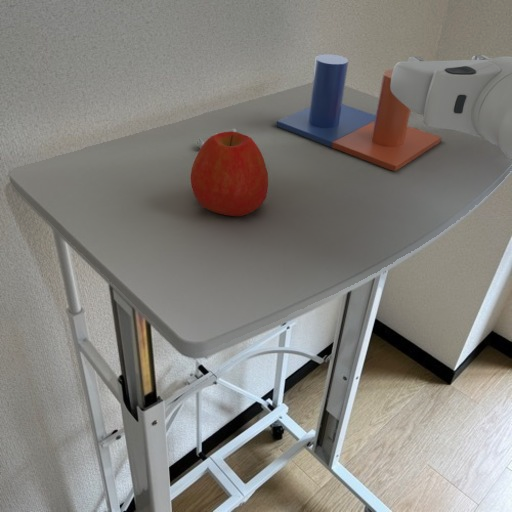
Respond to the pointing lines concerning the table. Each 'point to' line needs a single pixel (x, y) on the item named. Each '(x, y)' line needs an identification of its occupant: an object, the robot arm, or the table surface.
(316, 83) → the blue canister
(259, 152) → the apple
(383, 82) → the terracotta canister
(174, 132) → the table surface
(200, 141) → the game pieces
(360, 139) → the board
